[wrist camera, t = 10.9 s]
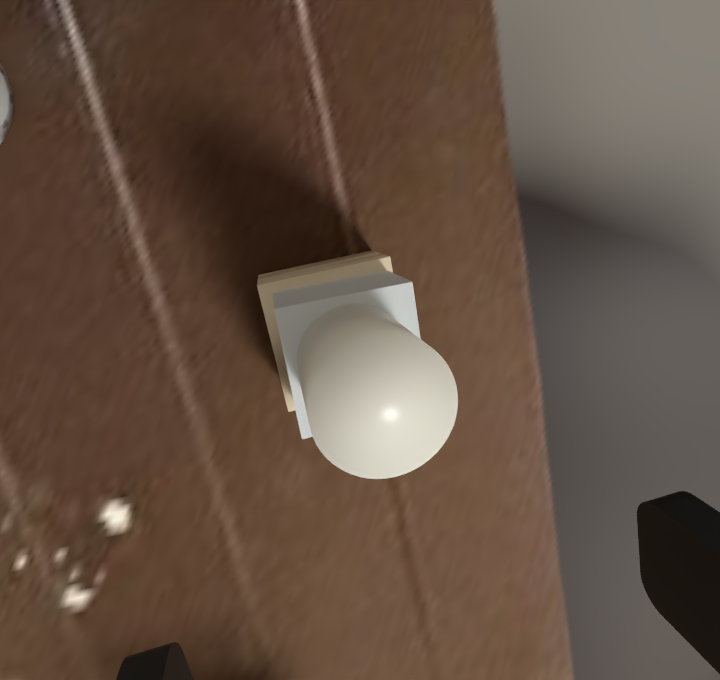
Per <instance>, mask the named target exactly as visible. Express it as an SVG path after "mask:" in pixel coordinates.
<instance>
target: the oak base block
mask: <svg viewBox="0 0 720 680" xmlns="http://www.w3.org/2000/svg"><path fill="white" fill-rule="evenodd" d="M385 270H387V271H390V272H392V273H393V270H392V265H391V259H390V256H387V255H384V254H381V253H378V252H375V251H367V252H363V253H358V254H353V255H349V256H344V257H339V258H335V259H330V260H326V261H321V262H316V263H312V264H307V265H302V266H298V267H293V268H288V269H284V270H279V271H275V272H270V273H265V274H261V275H258V281H257V288H258V292H259V296H260V300H261V304H262V308H263V312H264V316H265V320H266V324H267V328H268V332H269V336H270V340H271V344H272V348H273V352H274V356H275V360H276V364H277V368H278V372H279V376H280V380H281V384H282V388H283V392H284V396H285V400H286V404H287V408H288V412H290V411H294V410H296V409H295V404H294V400H293V395H292V390H291V386H290V381H289V376H288V372H287V367H286V362H285V358H284V353H283V348H282V344H281V339H280V334H279V330H278V325H277V320H276V316H275V311H274V302H273V292H275V291H281V290H286V289H291V288H296V287H301V286H307V285H312V284H317V283H322V282H327V281H333V280H338V279H343V278H348V277H354V276H359V275H364V274H369V273H374V272H380V271H385Z"/></svg>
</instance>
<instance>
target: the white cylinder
mask: <svg viewBox="0 0 720 680" xmlns="http://www.w3.org/2000/svg"><path fill="white" fill-rule="evenodd" d="M297 370H298V376H299V380H300V385H301V389H302V394H303V398H304V403H305V408H306V412H307V417H308V421H309V426H310V430H311V433H312V436H313V438H314V440H315V443H316V445H317V446H318V448H319V449H320V451H321V452H322V453H323V455H324V456H325V457H326V458H327V459H328V460H329V461H330V462H331V463H333V464H334V465H335V466H337V467H338V468H340V469H341V470H343V471H345V472H347V473H349V474H352V475H355V476H358V477H363V478H369V479H384V478H391V477H396V476H400V475H403V474H406V473H408V472H410V471H413V470H415V469H416V468H418V467H420V466H421V465H423V464H424V463H426V462H427V461H428V460H430V459H431V458H432V457H433V456H434V455H435V454H436V453H437V452H438V451H439V449H440V448H441V447H442V446H443V445H444V443H445V441H446V440H447V438H448V437H449V435H450V432H451V430H452V428H453V425H454V422H455V419H456V414H457V408H458V394H457V387H456V383H455V380H454V377H453V374H452V372H451V370H450V368H449V366H448V365H447V363H446V362H445V361H444V359H443V358H442V357H441V356H440V355H439V354H438V353H437V352H436V351H435V350H434V349H433V348H431V347H430V346H429V345H427V344H426V343H425V342H424V341H422V340H421V339H420V338H418V337H417V336H416V335H414V334H413V333H412V332H411V331H409V330H408V329H407V328H405V327H404V326H403V325H402V324H400V323H399V322H398V321H396V320H395V319H394V318H393V317H391V316H390V315H389V314H387V313H386V312H384V311H382V310H381V309H378V308H376V307H374V306H370V305H365V304H346V305H341V306H338V307H335V308H333V309H330V310H328V311H327V312H325V313H323V314H322V315H320V316H319V317H318V318H317V319H316V320H315V321H314V322H313V323H312V324H311V325H310V326H309V327H308V329H307V330H306V332H305V333H304V335H303V337H302V339H301V342H300V344H299V348H298V353H297Z"/></svg>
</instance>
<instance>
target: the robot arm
mask: <svg viewBox="0 0 720 680" xmlns="http://www.w3.org/2000/svg"><path fill="white" fill-rule="evenodd" d="M637 523H638V539H639V555H640V572H641V578H642V582H643V585H644V588H645V590H646V593H647V595H648V597H649V598H650V600H651V602H652V603H653V605H654V606H655V608H656V609H657V610H658V612H659V613H660V614H661V615H662V616H663V617H664V618H665V619H666V620H667V621H668V622H669V623H670V624H671V625H672V626H673V627H674V628H675V629H676V630H677V631H678V632H679V633H680V634H681V635H682V636H683V637H684V638H685V639H686V640H687V641H688V642H689V643H690V644H691V645H692V646H693V647H694V648H695V649H696V650H697V651H698V652H699V653H700V654H701V656H702V657H703V658H704V659H705V660H707V662H708V663H709V664H710V665H711V666H712V667H713V668H714V669H715V670H716V671H717V672H718V673H719V674H720V512H718V511H717V510H715V509H714V508H712V507H711V506H709V505H708V504H706V503H705V502H703V501H702V500H700V499H699V498H697V497H696V496H694V495H692V494H691V493H688V492H685V491H679V492H676V493H672V494H669V495H666V496H663V497H659V498H656V499H653V500H649V501H646V502H643V503H641V504H640V505H639V507H638V510H637ZM116 680H193V678H192V675H191V672H190V670H189V667H188V664H187V661H186V659H185V656H184V653H183V651H182V648H181V647H180V645H179V644H178V643H176V642H174V643H170V644H167V645H164V646H160V647H157V648H154V649H150V650H147V651H144V652H140V653H137V654H134V655H130V656H128V657H126V658H125V659H124V661H123V662H122V664H121V667H120V670H119V673H118V676H117V679H116Z"/></svg>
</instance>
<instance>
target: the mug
mask: <svg viewBox="0 0 720 680" xmlns="http://www.w3.org/2000/svg"><path fill="white" fill-rule="evenodd" d="M13 115H14V95H13V91H12V87H11V83H10V80H9V77H8V75H7V73H6V71H5V69H4V67H3V65H2V64H1V62H0V143H1V142H2V141H3V140H4V138H5V137H6V135H7V133H8V131H9V129H10V127H11V123H12V119H13Z"/></svg>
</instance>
